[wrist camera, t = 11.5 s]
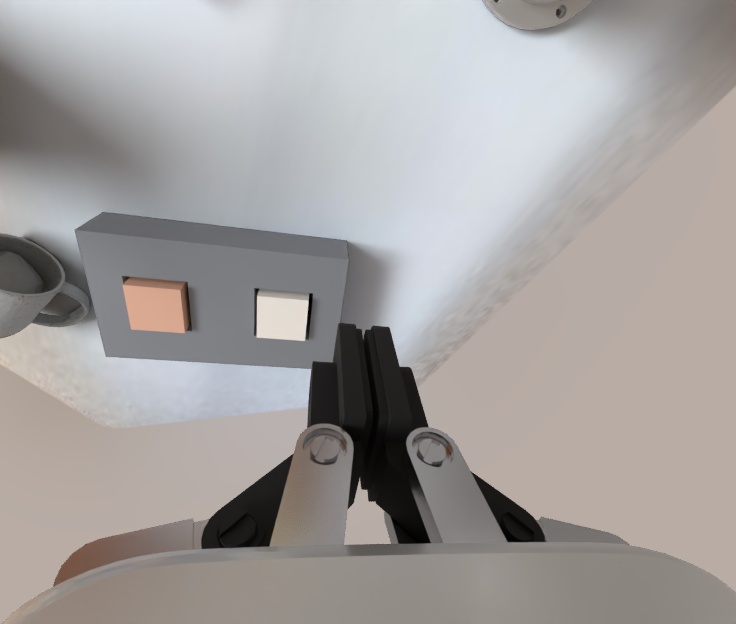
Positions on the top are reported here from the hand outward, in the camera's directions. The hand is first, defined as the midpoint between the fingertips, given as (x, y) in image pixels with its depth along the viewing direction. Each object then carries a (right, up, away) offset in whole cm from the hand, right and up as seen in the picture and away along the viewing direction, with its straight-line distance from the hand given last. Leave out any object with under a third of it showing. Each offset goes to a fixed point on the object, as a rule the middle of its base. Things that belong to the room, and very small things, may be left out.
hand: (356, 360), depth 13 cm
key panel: (-15, +4, +30) cm, 34 cm away
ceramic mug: (-34, +5, +28) cm, 44 cm away
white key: (-9, +3, +30) cm, 32 cm away
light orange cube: (-21, +4, +28) cm, 35 cm away
